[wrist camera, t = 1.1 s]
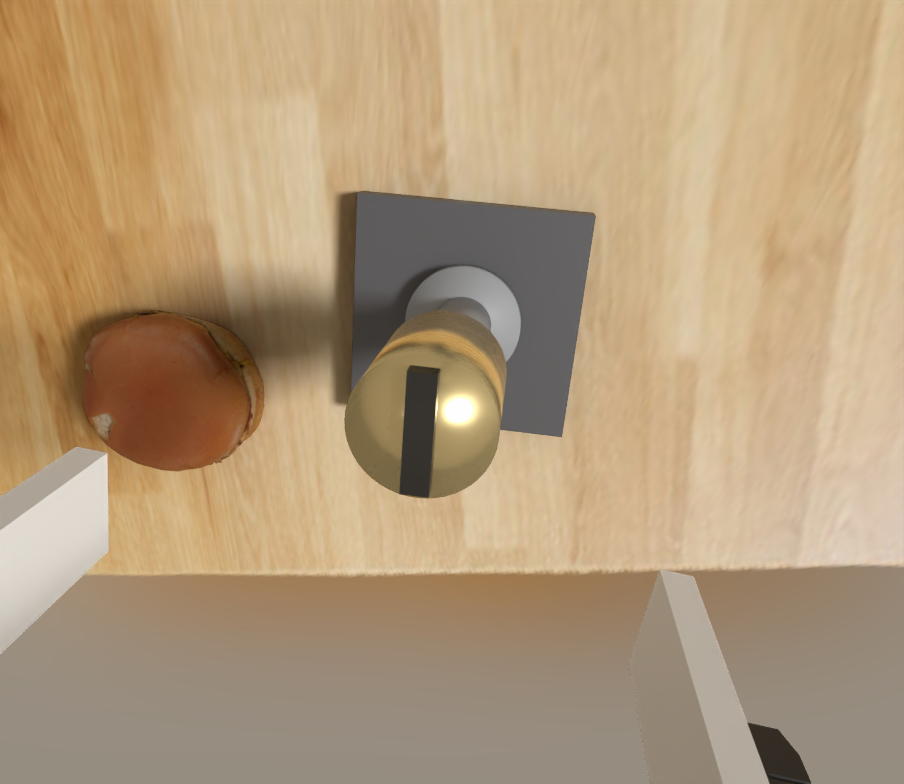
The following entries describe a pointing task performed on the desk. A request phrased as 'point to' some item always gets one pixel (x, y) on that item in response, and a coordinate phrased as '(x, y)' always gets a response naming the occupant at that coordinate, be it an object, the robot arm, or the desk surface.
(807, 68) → the desk surface
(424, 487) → the cap
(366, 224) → the post block
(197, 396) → the burger
